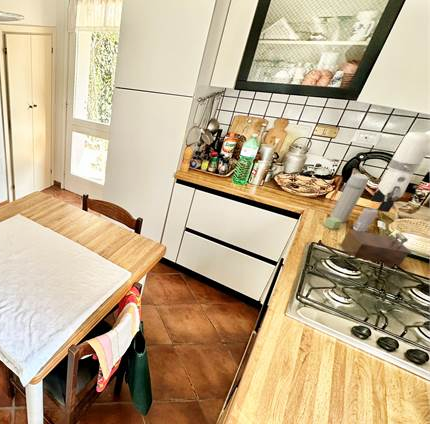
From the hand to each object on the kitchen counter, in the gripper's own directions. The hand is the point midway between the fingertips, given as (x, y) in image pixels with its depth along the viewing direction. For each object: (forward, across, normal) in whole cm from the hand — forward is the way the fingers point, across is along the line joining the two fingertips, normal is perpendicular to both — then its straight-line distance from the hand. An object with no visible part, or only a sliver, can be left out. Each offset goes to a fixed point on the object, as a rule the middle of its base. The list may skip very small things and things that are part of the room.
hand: (379, 206), depth 123 cm
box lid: (+18, +6, -8) cm, 21 cm away
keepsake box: (+26, +6, -8) cm, 28 cm away
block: (+26, +30, +2) cm, 40 cm away
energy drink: (+26, +33, -10) cm, 43 cm away
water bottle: (+26, +42, -2) cm, 49 cm away
